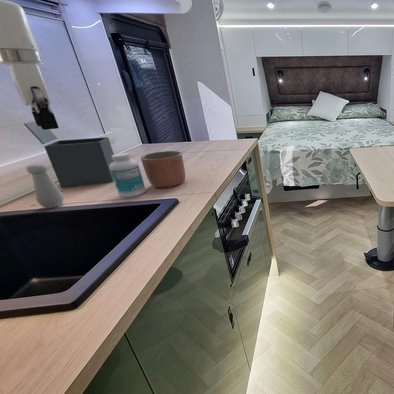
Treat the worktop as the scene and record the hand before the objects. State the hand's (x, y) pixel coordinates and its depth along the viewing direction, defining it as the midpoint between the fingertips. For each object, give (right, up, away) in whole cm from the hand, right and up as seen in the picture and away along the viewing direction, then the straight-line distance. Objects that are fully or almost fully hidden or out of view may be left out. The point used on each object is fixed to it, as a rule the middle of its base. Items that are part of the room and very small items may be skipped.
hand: (47, 127), depth 80 cm
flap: (-23, +3, +20) cm, 31 cm away
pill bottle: (+10, -18, +17) cm, 27 cm away
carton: (-15, -13, +31) cm, 37 cm away
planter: (+17, -15, +26) cm, 35 cm away
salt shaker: (-7, -22, +9) cm, 25 cm away
